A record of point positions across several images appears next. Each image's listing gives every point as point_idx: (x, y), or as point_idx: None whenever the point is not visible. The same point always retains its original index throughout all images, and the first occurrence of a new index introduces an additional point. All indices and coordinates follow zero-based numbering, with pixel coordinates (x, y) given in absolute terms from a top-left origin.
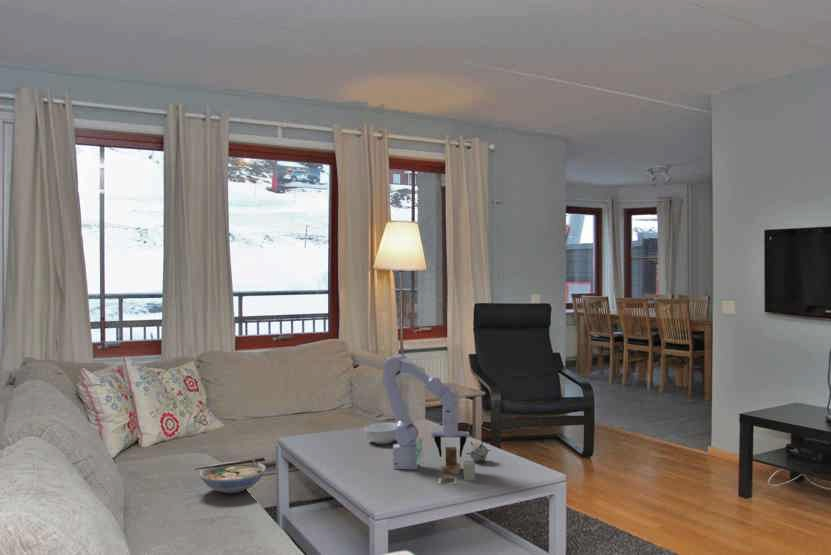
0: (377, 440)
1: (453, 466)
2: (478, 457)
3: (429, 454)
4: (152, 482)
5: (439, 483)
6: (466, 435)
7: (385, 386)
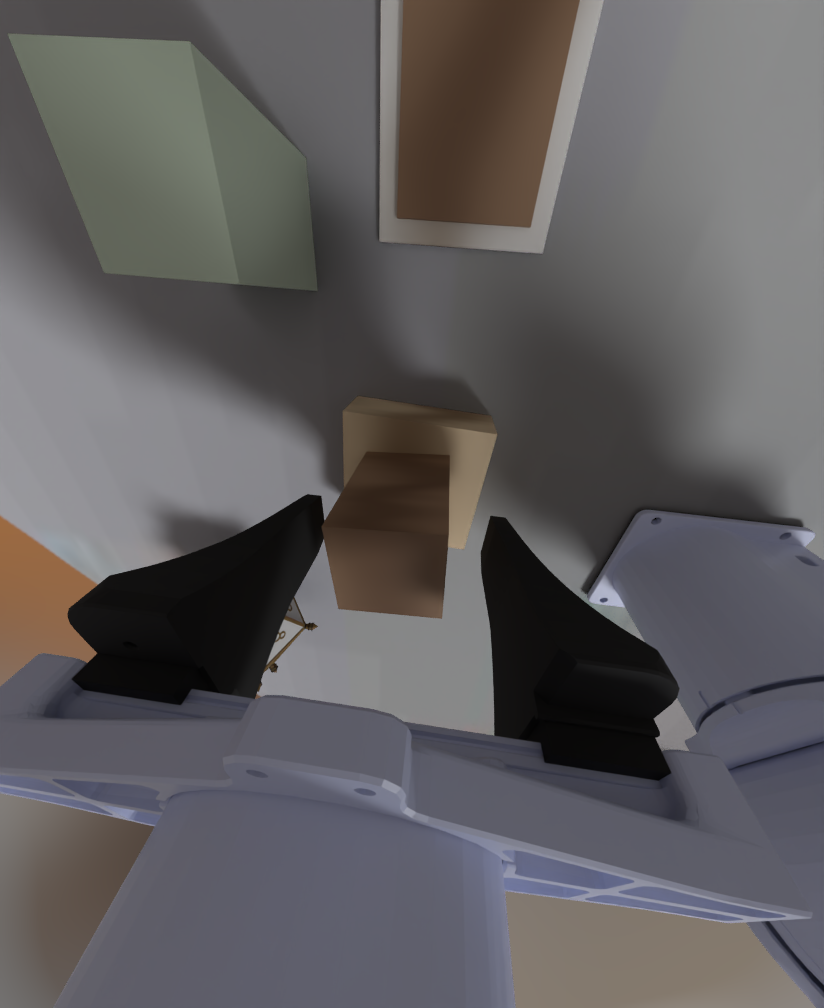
0: None
1: (391, 422)
2: None
3: (489, 681)
4: None
5: None
6: (37, 706)
7: None
